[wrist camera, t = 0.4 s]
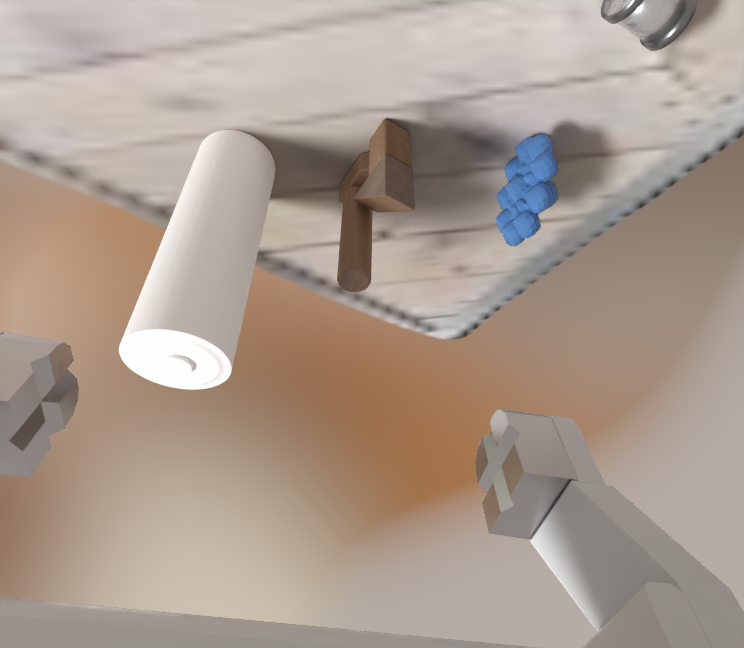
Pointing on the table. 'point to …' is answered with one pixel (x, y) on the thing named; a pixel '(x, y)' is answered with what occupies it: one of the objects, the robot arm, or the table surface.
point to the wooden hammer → (372, 200)
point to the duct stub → (651, 19)
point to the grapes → (527, 189)
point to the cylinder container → (203, 267)
